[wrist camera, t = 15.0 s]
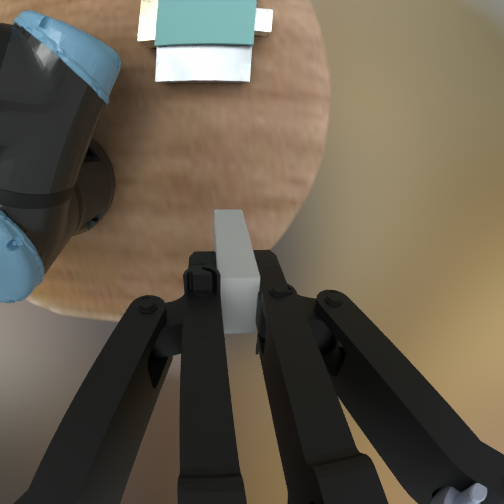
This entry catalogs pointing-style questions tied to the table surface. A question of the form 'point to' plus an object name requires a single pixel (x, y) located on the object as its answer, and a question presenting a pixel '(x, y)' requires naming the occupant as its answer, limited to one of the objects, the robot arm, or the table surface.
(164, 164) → the table surface
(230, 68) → the grey block
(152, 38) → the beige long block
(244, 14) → the teal rectangular plate
